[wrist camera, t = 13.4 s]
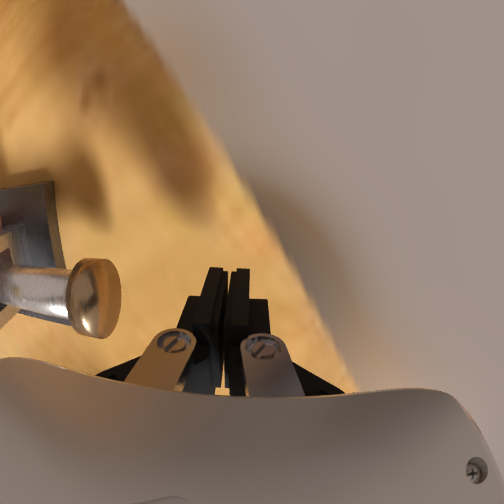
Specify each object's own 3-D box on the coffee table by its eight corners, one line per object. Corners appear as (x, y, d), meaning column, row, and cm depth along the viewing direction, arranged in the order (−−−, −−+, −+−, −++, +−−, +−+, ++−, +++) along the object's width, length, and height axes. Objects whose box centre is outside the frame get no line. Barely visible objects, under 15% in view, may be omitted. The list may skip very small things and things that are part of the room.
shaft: (15, 292, 13) (-16, 320, 10) (2, 243, 12) (-34, 265, 8) (125, 311, 13) (98, 355, 10) (114, 247, 12) (75, 281, 8)
